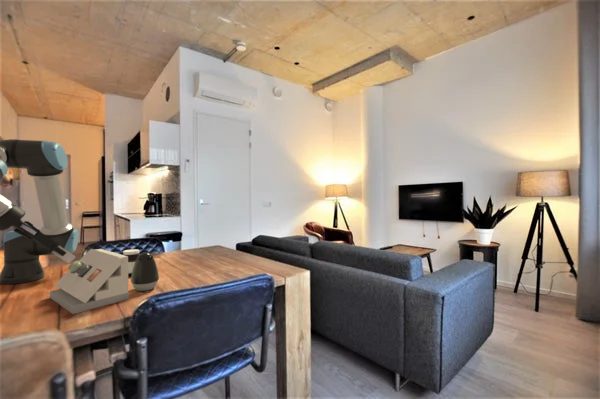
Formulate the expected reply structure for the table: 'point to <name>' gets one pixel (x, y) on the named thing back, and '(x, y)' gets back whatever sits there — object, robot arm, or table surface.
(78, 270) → the charcoal button
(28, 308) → the table surface
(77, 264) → the sage button
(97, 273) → the terracotta button
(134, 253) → the spread jar
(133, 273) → the dark grey egg figure
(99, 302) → the button console
